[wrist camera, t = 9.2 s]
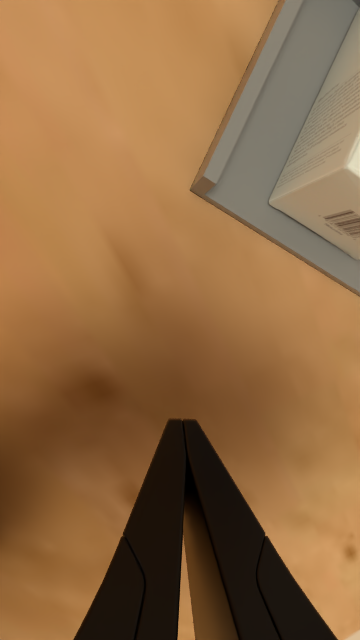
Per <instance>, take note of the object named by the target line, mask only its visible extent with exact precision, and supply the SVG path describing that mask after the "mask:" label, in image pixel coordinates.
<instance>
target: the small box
mask: <svg viewBox="0 0 360 640" xmlns="http://www.w3.org/2000/svg"><path fill="white" fill-rule="evenodd" d="M269 204H270V205H271V206H273V207H274V208H276V209H278V210H280V211H282V212H284V213H285V214H287V215H288V216H290V217H292V218H293V219H295V220H296V221H298V222H299V223H301V224H303V225H304V226H306V227H307V228H309V229H311V230H312V231H314V232H315V233H317V234H318V235H320V236H321V237H323V238H324V239H326V240H327V241H329V242H330V243H332V244H334V245H335V246H337V247H338V248H340V249H341V250H342V251H344V252H345V253H347V254H348V255H350V256H351V257H352V258H354V259H356V260H360V8H359V9H358V12H357V14H356V16H355V18H354V20H353V22H352V24H351V26H350V28H349V30H348V32H347V35H346V37H345V39H344V41H343V43H342V45H341V47H340V49H339V52H338V54H337V56H336V58H335V60H334V62H333V64H332V66H331V68H330V71H329V73H328V75H327V77H326V79H325V81H324V83H323V86H322V88H321V90H320V92H319V94H318V96H317V98H316V100H315V103H314V105H313V107H312V109H311V111H310V113H309V115H308V117H307V119H306V122H305V124H304V126H303V128H302V130H301V132H300V134H299V136H298V139H297V141H296V143H295V145H294V147H293V149H292V151H291V153H290V156H289V158H288V160H287V162H286V164H285V166H284V169H283V171H282V173H281V175H280V177H279V179H278V181H277V184H276V186H275V188H274V190H273V192H272V194H271V196H270V198H269Z"/></svg>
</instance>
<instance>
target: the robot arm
mask: <svg viewBox="0 0 360 640" xmlns="http://www.w3.org/2000/svg"><path fill="white" fill-rule="evenodd" d="M183 535H184V544H185V553H186V562H187V570H188V579H189V588H190V597H191V605H192V614H193V623H194V632H195V640H338V639H337V638H336V636H335V635H334V634H333V632H332V631H331V630H330V628H329V627H328V625H327V624H326V623H325V621H324V620H323V619H322V617H321V616H320V614H319V613H318V612H317V610H316V609H315V608H314V606H313V605H312V603H311V602H310V600H309V599H308V598H307V596H306V595H305V593H304V592H303V591H302V589H301V588H300V586H299V585H298V583H297V582H296V581H295V579H294V578H293V576H292V575H291V573H290V571H289V570H288V568H287V567H286V565H285V564H284V562H283V560H282V559H281V557H280V556H279V554H278V553H277V551H276V549H275V548H274V546H273V544H272V543H271V541H270V539H269V538H268V536H265V532H264V530H263V528H262V527H261V525H260V523H259V522H258V520H257V518H256V517H255V515H254V513H253V512H252V510H251V509H250V507H249V505H248V504H247V502H246V500H245V499H244V497H243V495H242V494H241V492H240V491H239V489H238V487H237V486H236V484H235V482H234V481H233V479H232V477H231V476H230V474H229V472H228V471H227V469H226V468H225V466H224V464H223V463H222V461H221V459H220V458H219V456H218V454H217V453H216V451H215V450H214V448H213V446H212V445H211V443H210V441H209V440H208V438H207V436H206V435H205V433H204V431H203V430H202V428H201V427H200V425H199V423H198V422H197V421H196V420H195V419H183V421H182V420H181V419H174V418H170V419H169V420H168V421H167V424H166V426H165V429H164V431H163V434H162V436H161V439H160V442H159V444H158V447H157V449H156V452H155V454H154V457H153V459H152V462H151V464H150V467H149V469H148V472H147V474H146V477H145V479H144V482H143V484H142V487H141V489H140V492H139V494H138V497H137V499H136V502H135V504H134V507H133V509H132V512H131V514H130V517H129V519H128V522H127V524H126V527H125V529H124V532H123V536H122V537H121V539H120V541H119V544H118V546H117V549H116V551H115V554H114V556H113V559H112V561H111V563H110V566H109V568H108V570H107V573H106V575H105V577H104V580H103V582H102V584H101V586H100V588H99V590H98V592H97V594H96V596H95V598H94V600H93V602H92V604H91V606H90V608H89V610H88V612H87V614H86V616H85V618H84V620H83V622H82V624H81V626H80V628H79V630H78V632H77V634H76V636H75V638H74V639H73V640H177V637H178V618H179V599H180V580H181V560H182V541H183Z"/></svg>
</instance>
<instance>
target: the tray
mask: <svg viewBox="0 0 360 640" xmlns="http://www.w3.org/2000/svg"><path fill="white" fill-rule="evenodd" d="M359 8H360V0H279V1H278V3H277V5H276V8H275V10H274V12H273V14H272V16H271V18H270V20H269V22H268V25H267V27H266V29H265V31H264V33H263V35H262V37H261V39H260V42H259V44H258V46H257V48H256V50H255V52H254V54H253V56H252V59H251V61H250V63H249V65H248V67H247V69H246V71H245V73H244V76H243V78H242V80H241V82H240V84H239V86H238V88H237V90H236V93H235V95H234V97H233V99H232V101H231V103H230V105H229V108H228V110H227V112H226V114H225V116H224V118H223V120H222V122H221V125H220V127H219V129H218V131H217V133H216V135H215V137H214V139H213V142H212V144H211V146H210V148H209V150H208V152H207V154H206V156H205V159H204V161H203V163H202V165H201V167H200V169H199V171H198V173H197V176H196V178H195V180H194V182H193V184H192V186H191V188H190V191H192V192H193V193H195V194H197V195H198V196H200V197H201V198H203V199H205V200H206V201H208V202H209V203H211V204H213V205H214V206H216V207H217V208H219V209H221V210H222V211H224V212H225V213H227V214H229V215H230V216H232V217H233V218H235V219H237V220H238V221H240V222H241V223H243V224H245V225H246V226H248V227H249V228H251V229H253V230H254V231H256V232H257V233H259V234H261V235H262V236H264V237H266V238H267V239H269V240H270V241H272V242H274V243H275V244H277V245H278V246H280V247H282V248H283V249H285V250H286V251H288V252H290V253H291V254H293V255H294V256H296V257H298V258H299V259H301V260H302V261H304V262H306V263H307V264H309V265H310V266H312V267H314V268H315V269H317V270H318V271H320V272H322V273H323V274H325V275H326V276H328V277H330V278H331V279H333V280H334V281H336V282H338V283H339V284H341V285H342V286H344V287H346V288H347V289H349V290H350V291H352V292H354V293H355V294H357V295H359V296H360V260H356V259H354V258H352V257H351V256H350V255H348V254H347V253H345V252H344V251H342V250H341V249H340V248H338V247H337V246H335V245H334V244H332V243H330V242H329V241H327V240H326V239H324V238H323V237H321V236H320V235H318V234H317V233H315V232H314V231H312V230H311V229H309V228H307V227H306V226H304V225H303V224H301V223H299V222H298V221H296V220H295V219H293V218H292V217H290V216H288V215H287V214H285V213H284V212H282V211H280V210H278V209H276V208H274V207H273V206H271V205H270V204H269V198H270V196H271V194H272V192H273V190H274V188H275V186H276V184H277V181H278V179H279V177H280V175H281V173H282V171H283V169H284V166H285V164H286V162H287V160H288V158H289V156H290V153H291V151H292V149H293V147H294V145H295V143H296V141H297V139H298V136H299V134H300V132H301V130H302V128H303V126H304V124H305V122H306V119H307V117H308V115H309V113H310V111H311V109H312V107H313V105H314V103H315V100H316V98H317V96H318V94H319V92H320V90H321V88H322V86H323V83H324V81H325V79H326V77H327V75H328V73H329V71H330V68H331V66H332V64H333V62H334V60H335V58H336V56H337V54H338V52H339V49H340V47H341V45H342V43H343V41H344V39H345V37H346V35H347V32H348V30H349V28H350V26H351V24H352V22H353V20H354V18H355V16H356V14H357V12H358V9H359Z"/></svg>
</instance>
